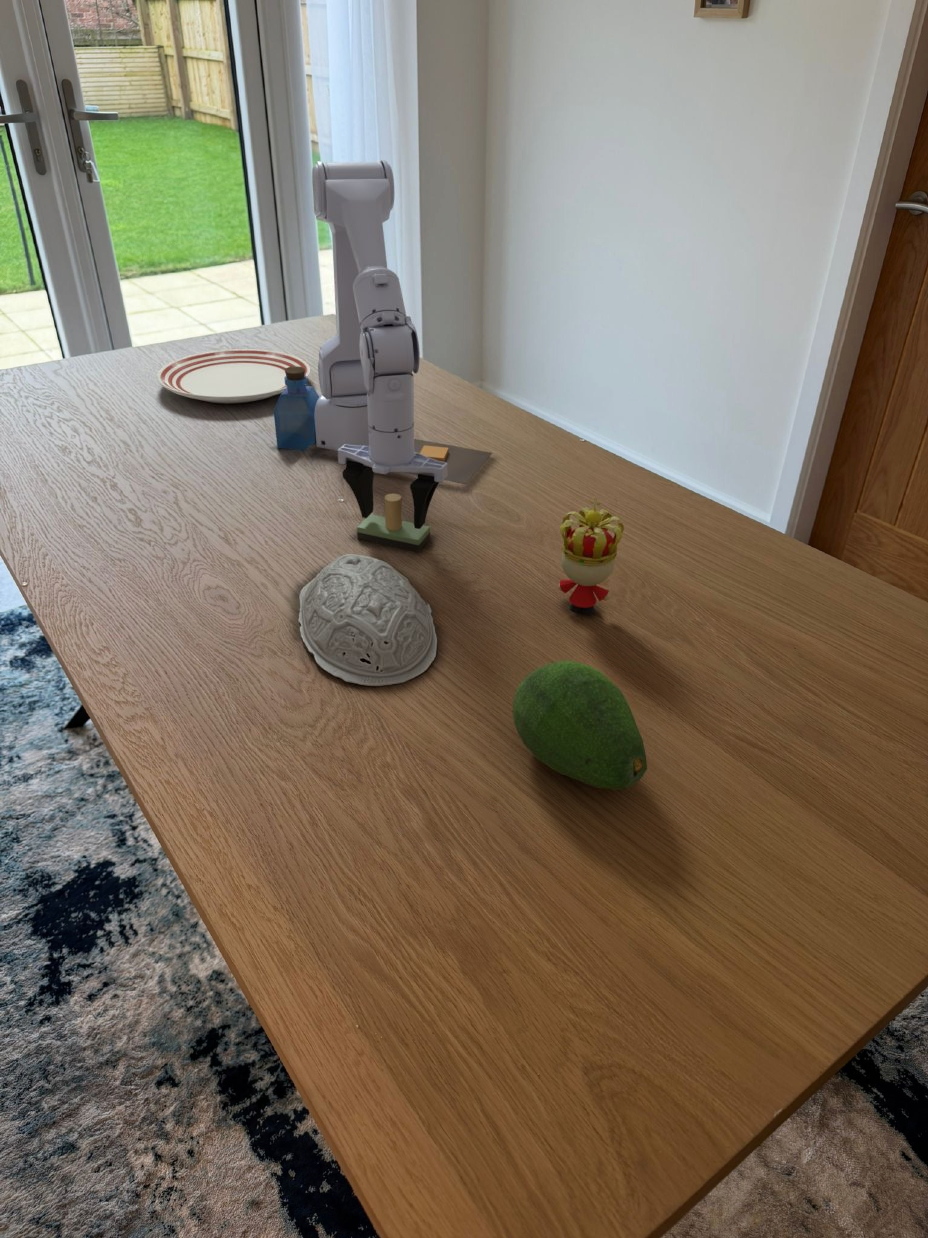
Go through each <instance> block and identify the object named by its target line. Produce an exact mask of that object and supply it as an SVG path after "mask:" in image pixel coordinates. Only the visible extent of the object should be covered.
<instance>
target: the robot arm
mask: <svg viewBox="0 0 928 1238" xmlns="http://www.w3.org/2000/svg"><path fill="white" fill-rule="evenodd" d="M311 184H312V197H313V198H312V200H313V212H314V216H315V220H317V221H320V222H324V223H328V226H329V228H330V231H331V239H332V261H333V282H334V283H333V284H334V285H333V287H334V307H335V309H334V310H335V328H336V333H335V334H334V335H333V336H331V337H330V338H329V339H328V340H326V341H324V342H323V343H322V344H320V346H319V350H318V362H317V373H318V382H319V389H320V393H321V395H319V399H318V401H317V403H316V407H315V415H314V417H315V431H316V443H315V444H316V447H317V448H322V449H326V450H330V451H331V450H332V451H336V452H337V461H338V463H337V464H341V465H345V468H344V469H343V470H342V471H341V473H342V478H343V479H344V480H345V482H346V483H347V484H348V486H349V487H350V490H351V492H352V493H353V496H354V497H355V500H356V503H357V504H358V508H359V511H360V514H361V518H364V519H365V518H367V517H368V516H369V515H370V514H373V512H374V505H375V504H374V477H375V476H374V474H382V475H387V474H389V473H401V474H407V475H410V476H411V475H412V476H417V478H415V479H414V480H413V481H412V482H411V484H410V485H409V490H410V493H411V497H412V503H413V523H414V527H415V528H416V529H420V528H421V527H422V526H423V525H425V524H426V519H427V514H428V511H429V507H430V504H431V502H432V499H433V496H434V494H435V492H436V490H437V488H438V486H439V484H440V483H443V482H444V481H446V480H445V479H446V477H447V463H445V462H441V461H437V460H434V459H432V458H429V457H427V456H424V455H422V454H419V453H417V452H414V439H415V402H414V401H415V396H414V395H415V384H414V383H415V381H414V379H415V378H414V377H415V376H414V374H418V373H419V369H420V361H421V357H420V355H421V353H420V352H421V351H420V343H419V338H418V333H417V329H416V326H415V324H414V322H413V320H412V318H411V316H409V315H408V316H407V312H406V311H407V310H406V306H405V302H404V298H403V293H402V286H401V283H400V278H399V277H398V276H399V275H397V274H396V272H394V271H393V270H392V269H389V268H388V262H387V253H386V251H387V250H386V242H385V232H384V223H386V222H387V221H388V220H390V216H391V211H392V210H393V209H394V206H395V179H394V173H393V169H392V167H391V165H390V164H389V163H388V161H387V160H386V159H384V160H383V159H382V160H381V159H380V161H335V162H334V161H333V162H331V161H330V162H328V161H327V162H323V161H317V160H316V162H315V164H313V167H312V169H311Z"/></svg>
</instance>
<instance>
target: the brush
mask: <svg viewBox="0 0 928 1238" xmlns="http://www.w3.org/2000/svg"><path fill="white" fill-rule="evenodd" d="M402 512H403V511H402V496H401V495H400V494H397V493H388V494H386V495H385V496H384V516H380V515H376V514H373V513H371V514H370V515H369V516H368V517H367V518H364V519H363V520H362V521H361V522H360V523H359V524H358V525H357V526H356V534H357V535H356V537H357V539H358V540H362V541H367V542H371V543H377V544H380V545H385V546H390V547H395V548H399V549H404V550H409V551H413V552H418V553H419V552H420V551H421V550H422V549H423V547H424V546H425V545H426V544H427V543H428V541H430V539H431V526H430V525H425V524H424V525H423V526H422V527H421V528H420V529H416V528H415V527H414V522H410V521H405V520H403V513H402Z"/></svg>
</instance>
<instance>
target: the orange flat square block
mask: <svg viewBox="0 0 928 1238" xmlns="http://www.w3.org/2000/svg"><path fill="white" fill-rule="evenodd" d="M448 453H449V448H445V447H435V446H425V445H424V447H423V448H422V450H421V452H420V454H422V455H424V456H427V457H429V458H432V459H434V460H437V461H441V462H444V461H445V459H446V457H447V455H448Z"/></svg>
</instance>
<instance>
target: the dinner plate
mask: <svg viewBox="0 0 928 1238" xmlns="http://www.w3.org/2000/svg"><path fill="white" fill-rule="evenodd" d="M293 366H298V367H303V368H305V374H304V375H306V377H307V378H308V377H309V375H310V374H311V367H310V365H309V364H308V362H306V361H305V360H304V359H302V358H300V357H298V356H296V355H293V354H291V353H286V352H282V351H276V350H268V349H255V348H232V349H231V348H230V349H220V350H219V349H218V350H211V351H203V352H198V353H194V354H190V355H186V356H183V357H180V358H176V359H174V360H172V361H170V362H168V363H166V364H164V366H162V367H161V368H160V369H159V370H158V372H157V374H156V380H157V382H158V384H159V385H160V386H161V387H163V388H164V389H166V390H168V391H170V392H172V393H174V394H177V395H179V396H182V397H186V398H188V399H192V400H193V399H194V400H197V401H203V402H208V403H213V404H242V403H243V404H244V403H252V402H257V401H260V400H265V399H268V398H270V397H274V396H276V395H281V393H282V392H283V391H284V389H285V388H286V387H287V385H285V379H284V378H285V376H286V373H285V369H286V368H288V367H293Z"/></svg>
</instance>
